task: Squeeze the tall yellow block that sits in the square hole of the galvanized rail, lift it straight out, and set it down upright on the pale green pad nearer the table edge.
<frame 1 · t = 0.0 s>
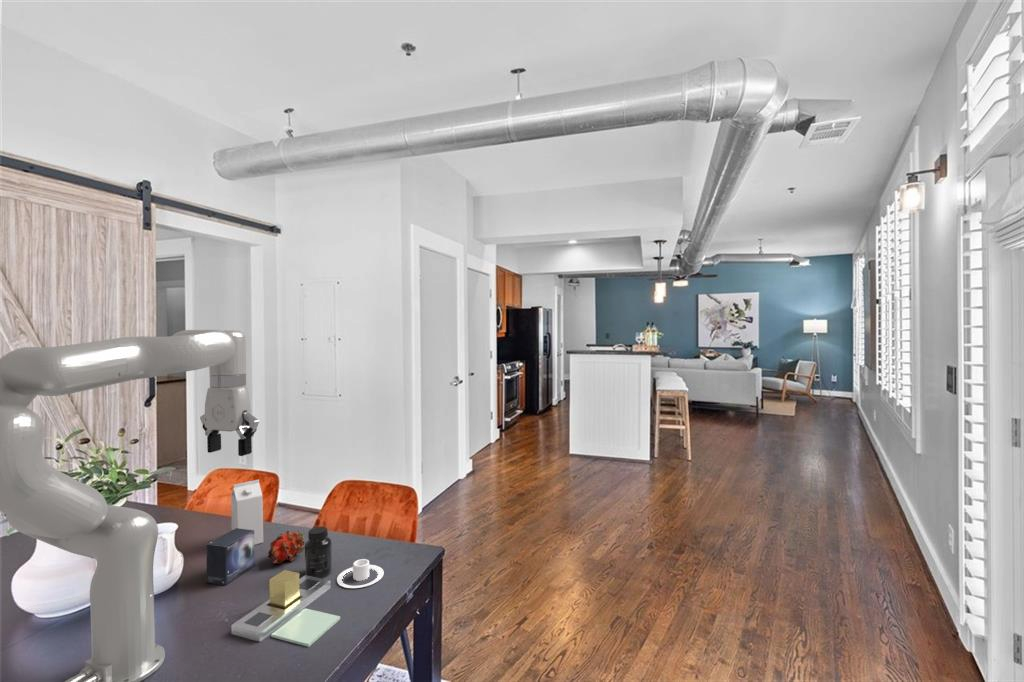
hand: (229, 452, 114), 37 cm above the table, tool pointing down, fingers open, 9 cm apart
candle holder: (360, 579, 127), on the table
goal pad: (306, 627, 106), on the table
small box: (231, 575, 129), on the table
yellow block: (284, 592, 113), in the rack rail
dragon fruit: (286, 560, 136), on the table
supplement bottle: (318, 574, 129), on the table
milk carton: (247, 543, 148), on the table
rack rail: (285, 609, 113), on the table
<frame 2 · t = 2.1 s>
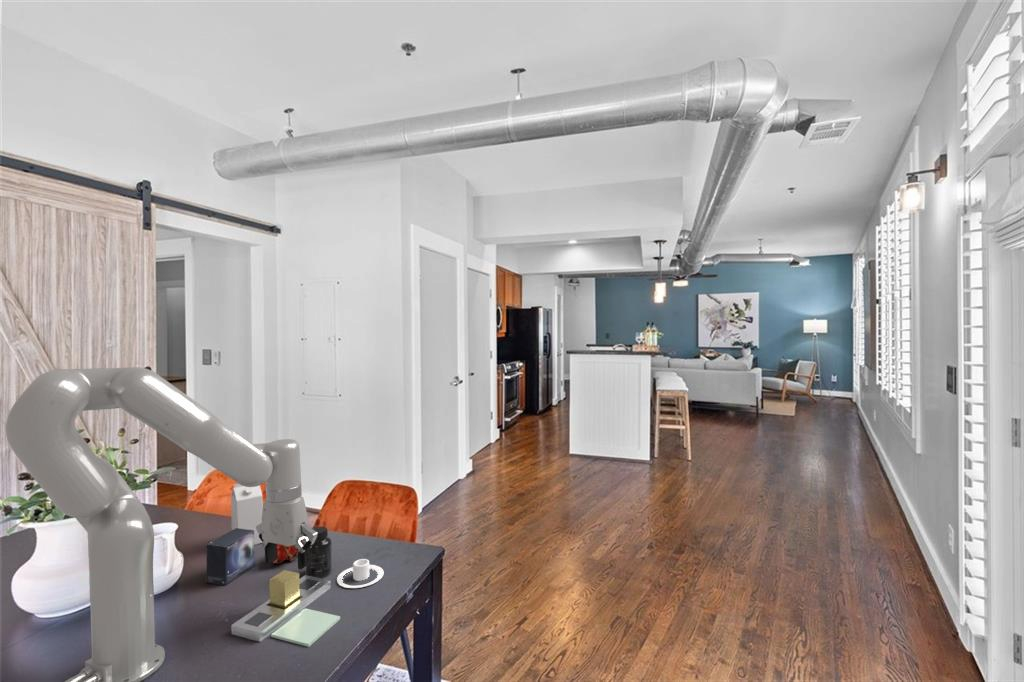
hand: (287, 563, 113), 11 cm above the table, tool pointing down, fingers open, 9 cm apart
nothing on the table moved.
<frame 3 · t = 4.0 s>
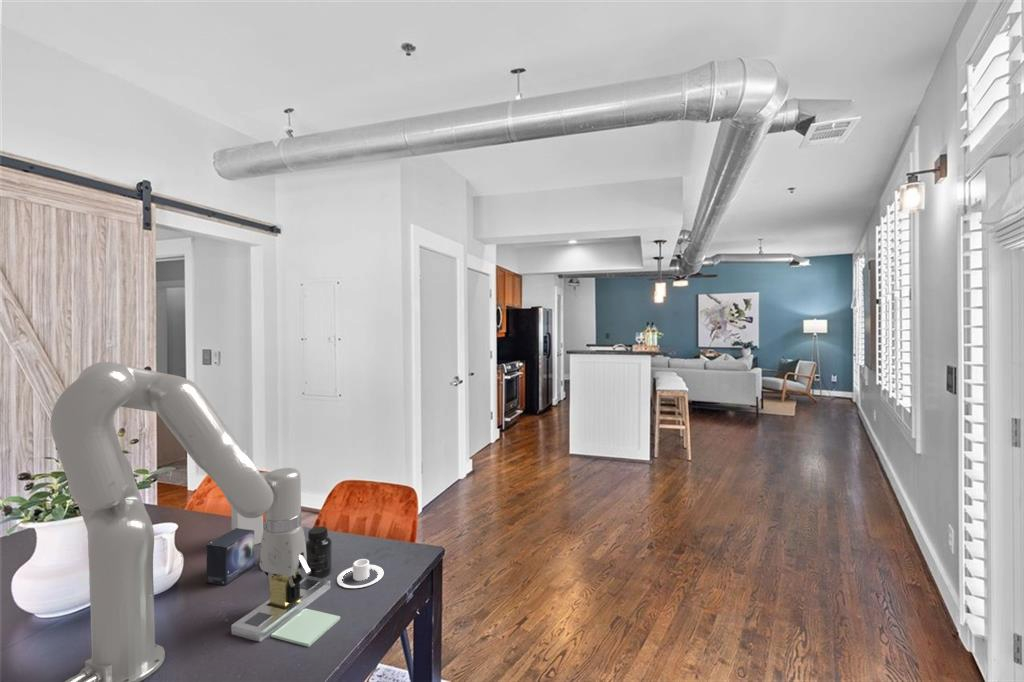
hand: (285, 597, 113), 3 cm above the table, tool pointing down, fingers closed on yellow block, 4 cm apart
yellow block: (285, 592, 113), in the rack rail, touching gripper
everything else where it was.
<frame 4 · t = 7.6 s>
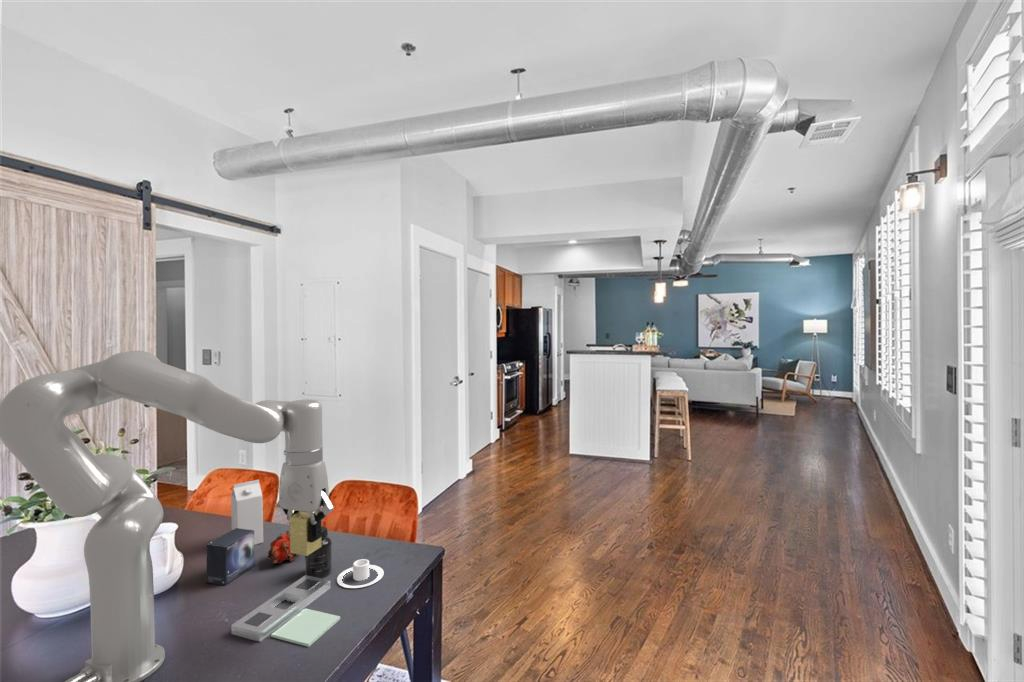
hand: (305, 537, 105), 20 cm above the table, tool pointing down, fingers closed on yellow block, 4 cm apart
yellow block: (305, 531, 105), point 22 cm above the table, touching gripper
everything else where it was.
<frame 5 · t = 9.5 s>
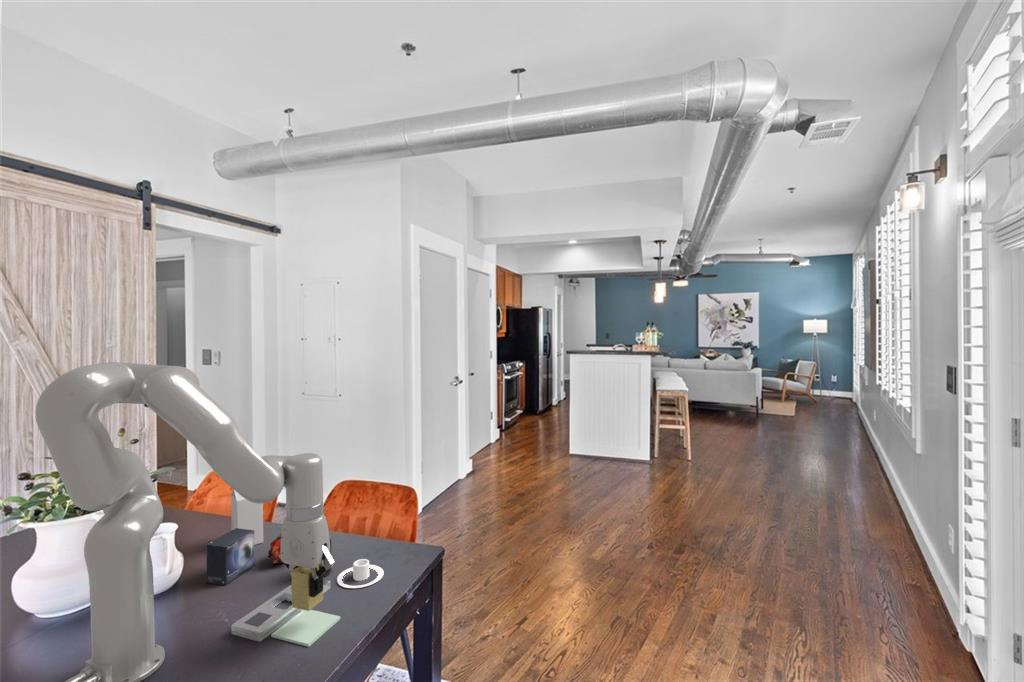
hand: (307, 591, 106), 8 cm above the table, tool pointing down, fingers closed on yellow block, 4 cm apart
yellow block: (307, 585, 106), point 9 cm above the table, touching gripper
everything else where it was.
when the fingers open (4 cm above the table, at t = 11.2 s): yellow block stays where it is, resting on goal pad.
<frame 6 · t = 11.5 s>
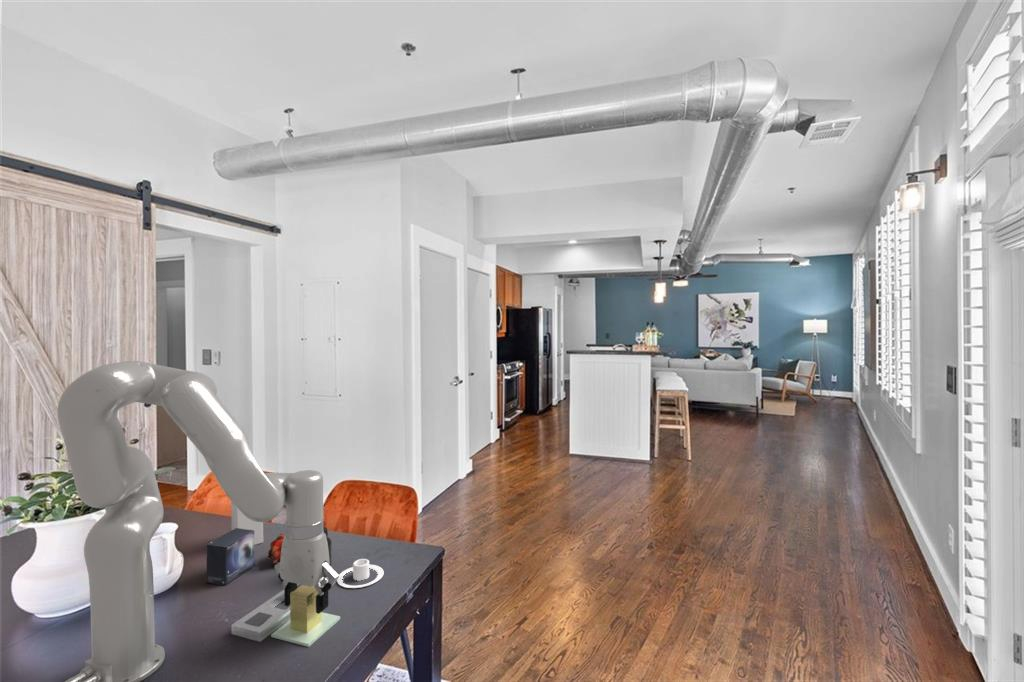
hand: (306, 605, 106), 5 cm above the table, tool pointing down, fingers open, 8 cm apart
yellow block: (306, 607, 106), on the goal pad, point 5 cm above the table
everything else where it was.
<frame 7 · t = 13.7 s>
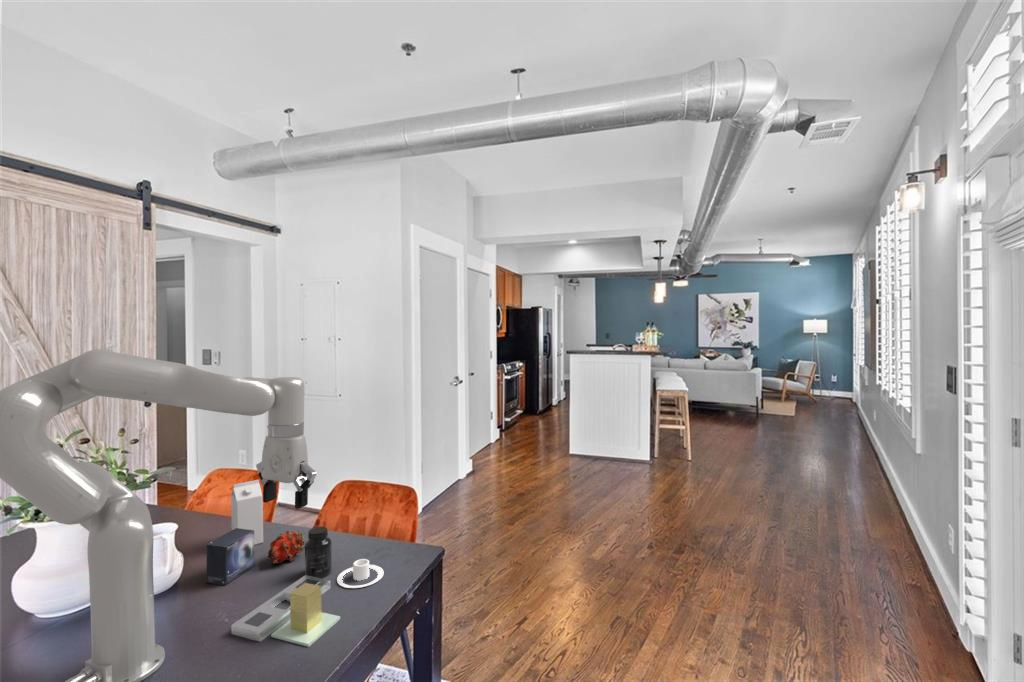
hand: (285, 503, 111), 26 cm above the table, tool pointing down, fingers open, 9 cm apart
nothing on the table moved.
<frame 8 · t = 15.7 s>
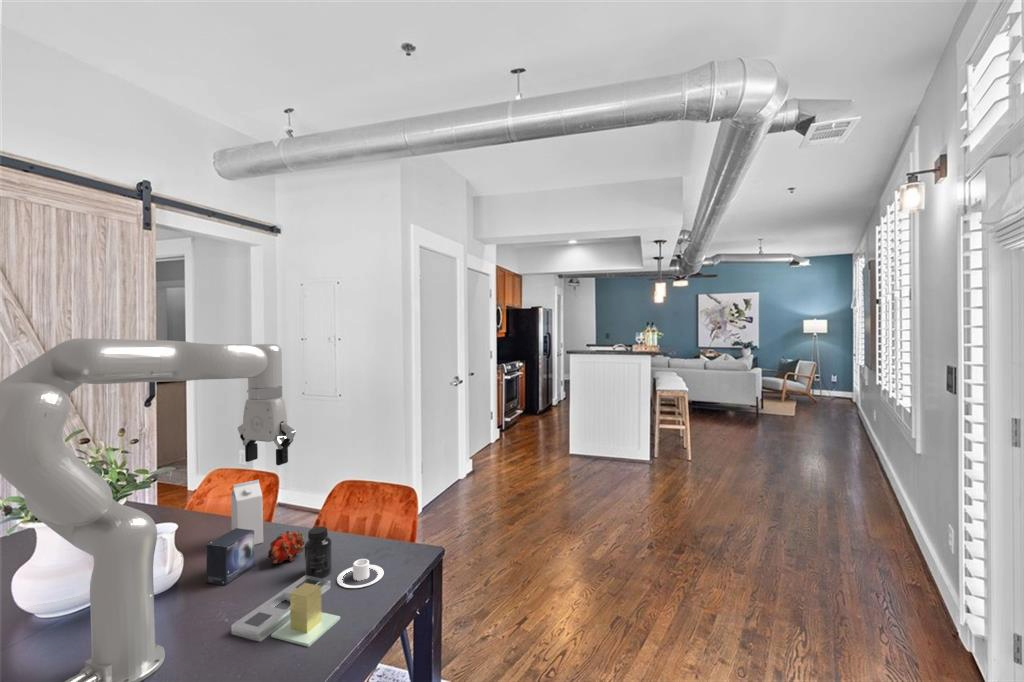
hand: (266, 462, 118), 33 cm above the table, tool pointing down, fingers open, 9 cm apart
nothing on the table moved.
at the end: yellow block inside the target area on the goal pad (0.1 cm from its centre), point 4.6 cm above the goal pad's base; yellow block tilted 0°; the gripper is holding nothing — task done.
